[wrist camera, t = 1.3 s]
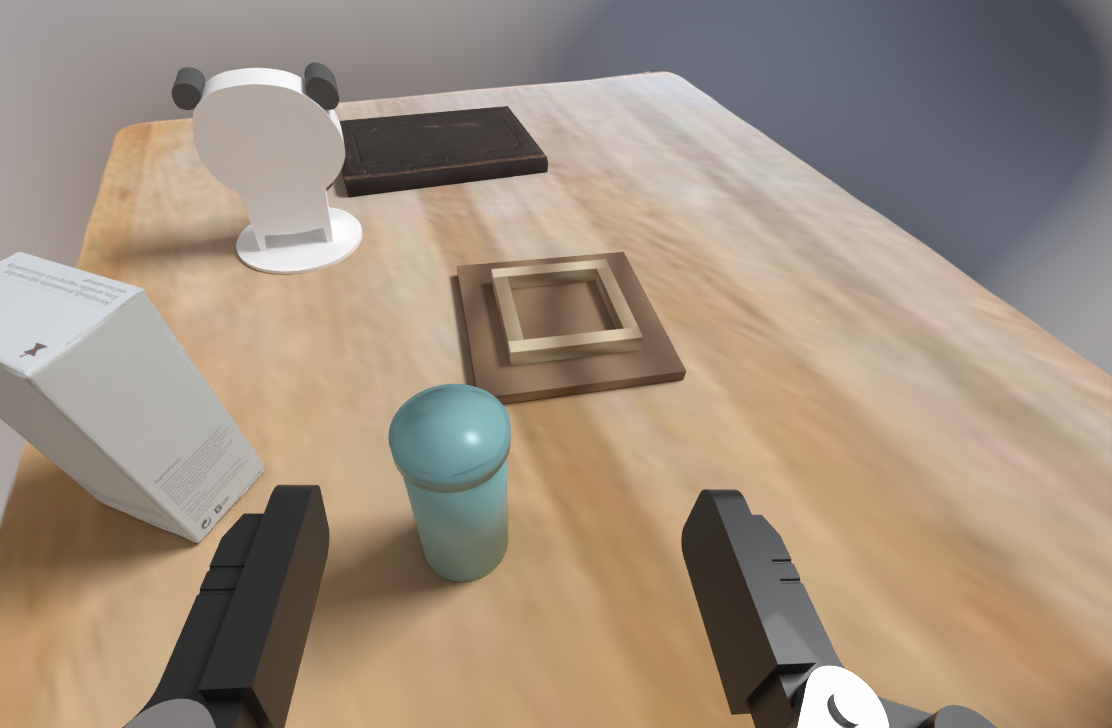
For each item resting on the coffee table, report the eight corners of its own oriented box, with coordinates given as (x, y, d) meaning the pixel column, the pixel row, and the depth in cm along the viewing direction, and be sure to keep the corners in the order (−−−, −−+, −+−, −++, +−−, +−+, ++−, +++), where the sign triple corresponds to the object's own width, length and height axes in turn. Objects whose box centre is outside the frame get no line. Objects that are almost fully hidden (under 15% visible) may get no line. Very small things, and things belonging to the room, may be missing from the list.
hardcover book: (335, 139, 69) (330, 121, 67) (507, 123, 75) (507, 105, 74) (349, 202, 59) (344, 182, 57) (547, 176, 65) (548, 158, 64)
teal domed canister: (503, 493, 35) (500, 377, 27) (518, 575, 31) (519, 469, 23) (417, 507, 34) (387, 391, 26) (422, 594, 30) (389, 490, 22)
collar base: (622, 260, 53) (625, 239, 51) (683, 379, 42) (690, 358, 41) (457, 275, 50) (455, 253, 48) (478, 407, 39) (477, 385, 38)
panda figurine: (363, 202, 58) (328, 46, 47) (374, 262, 51) (337, 94, 40) (240, 216, 55) (173, 52, 44) (234, 283, 47) (151, 106, 37)
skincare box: (269, 469, 35) (160, 285, 24) (195, 552, 31) (26, 377, 20) (166, 428, 37) (22, 241, 26) (84, 503, 33) (-127, 316, 22)
